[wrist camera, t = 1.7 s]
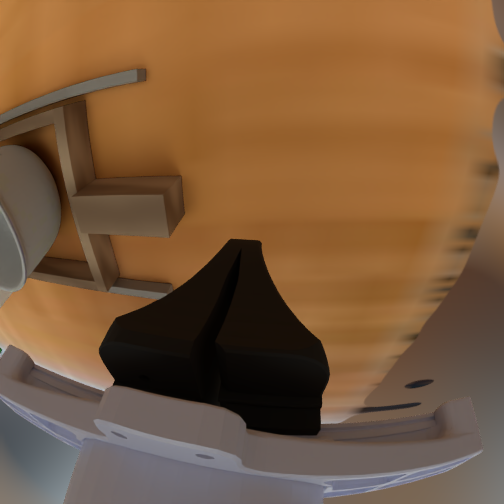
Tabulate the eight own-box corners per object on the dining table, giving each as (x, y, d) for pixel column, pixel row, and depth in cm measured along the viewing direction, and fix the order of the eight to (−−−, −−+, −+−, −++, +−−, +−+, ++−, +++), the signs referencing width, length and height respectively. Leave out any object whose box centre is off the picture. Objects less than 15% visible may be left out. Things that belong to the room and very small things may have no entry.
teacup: (36, 108, 15) (-41, 138, 8) (100, 211, 20) (39, 273, 13) (-14, 192, 20) (-62, 230, 13) (35, 266, 25) (-5, 314, 18)
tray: (193, 281, 23) (182, 309, 20) (8, 258, 25) (-7, 274, 22) (175, 84, 14) (154, 86, 12) (-26, 142, 16) (-47, 153, 13)
